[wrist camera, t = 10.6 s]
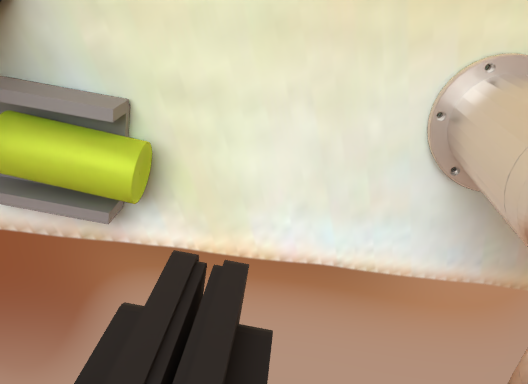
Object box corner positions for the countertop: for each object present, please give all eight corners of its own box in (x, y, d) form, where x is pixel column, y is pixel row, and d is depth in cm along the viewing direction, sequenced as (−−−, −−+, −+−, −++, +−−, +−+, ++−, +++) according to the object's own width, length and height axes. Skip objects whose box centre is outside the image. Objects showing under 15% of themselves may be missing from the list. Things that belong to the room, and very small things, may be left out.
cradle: (130, 98, 48) (113, 109, 43) (124, 205, 52) (108, 224, 48) (-3, 73, 48) (-33, 82, 44) (3, 182, 52) (-24, 199, 48)
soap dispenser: (158, 131, 49) (-42, 86, 49) (135, 152, 42) (-95, 100, 42) (151, 186, 51) (-41, 143, 51) (128, 214, 45) (-91, 164, 45)
